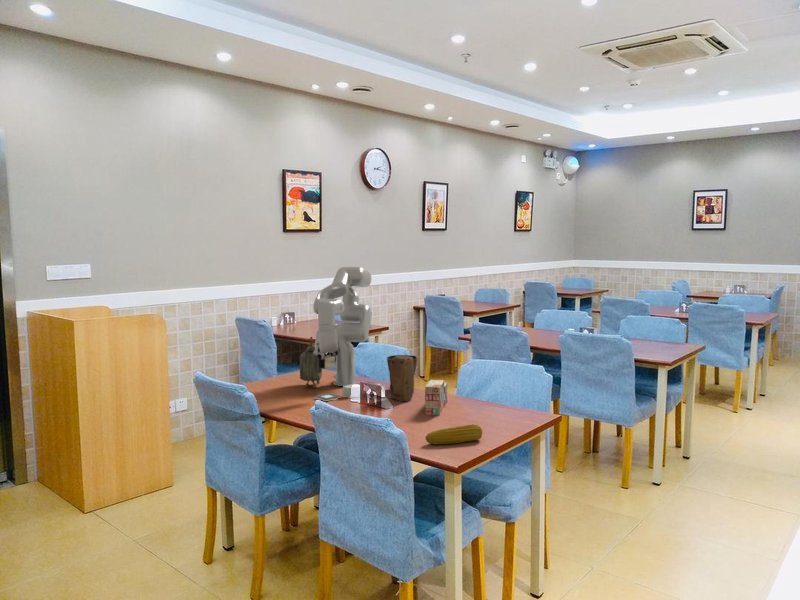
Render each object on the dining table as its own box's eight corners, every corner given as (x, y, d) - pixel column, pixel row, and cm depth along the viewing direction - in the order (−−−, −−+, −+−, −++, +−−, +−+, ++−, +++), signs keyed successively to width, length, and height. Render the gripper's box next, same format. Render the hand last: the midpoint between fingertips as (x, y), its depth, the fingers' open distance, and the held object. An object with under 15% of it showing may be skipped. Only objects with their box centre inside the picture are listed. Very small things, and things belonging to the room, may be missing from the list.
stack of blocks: (433, 401, 263) (433, 375, 262) (447, 402, 262) (447, 375, 261) (424, 415, 243) (424, 385, 242) (439, 415, 241) (439, 386, 240)
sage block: (342, 396, 273) (342, 386, 272) (351, 395, 276) (350, 384, 276) (349, 398, 269) (349, 388, 269) (357, 396, 272) (357, 386, 272)
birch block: (319, 367, 267) (319, 356, 267) (328, 366, 271) (328, 355, 270) (326, 369, 264) (325, 358, 263) (334, 367, 267) (334, 356, 267)
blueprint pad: (315, 398, 269) (315, 395, 269) (329, 395, 274) (329, 392, 274) (325, 402, 263) (325, 398, 263) (339, 398, 268) (339, 395, 268)
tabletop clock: (318, 389, 286) (317, 339, 284) (299, 389, 286) (298, 339, 284) (322, 383, 301) (321, 335, 299) (304, 383, 301) (303, 335, 299)
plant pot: (382, 392, 281) (382, 359, 280) (392, 385, 295) (392, 354, 294) (412, 394, 277) (412, 361, 275) (421, 387, 291) (421, 355, 289)
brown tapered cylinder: (415, 399, 267) (415, 356, 266) (405, 402, 261) (405, 358, 260) (397, 395, 274) (397, 353, 272) (387, 399, 268) (386, 356, 266)
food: (477, 437, 214) (477, 421, 213) (484, 442, 208) (484, 426, 208) (423, 443, 207) (423, 427, 206) (429, 448, 202) (429, 432, 201)
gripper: (336, 325, 274) (336, 363, 276) (306, 328, 263) (306, 368, 264) (346, 326, 269) (346, 365, 270) (316, 330, 257) (316, 370, 259)
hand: (327, 366), depth 267 cm, fingers closed on birch block, 5 cm apart
